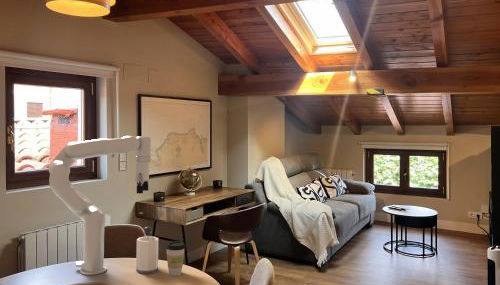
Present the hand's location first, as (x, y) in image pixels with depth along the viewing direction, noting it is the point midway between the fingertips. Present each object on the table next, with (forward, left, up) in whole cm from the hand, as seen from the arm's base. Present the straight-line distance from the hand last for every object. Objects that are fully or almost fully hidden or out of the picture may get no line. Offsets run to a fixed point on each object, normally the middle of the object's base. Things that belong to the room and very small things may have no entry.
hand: (142, 191), depth 221 cm
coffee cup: (+21, -13, -38) cm, 46 cm away
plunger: (+6, -10, -35) cm, 37 cm away
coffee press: (+6, -10, -38) cm, 40 cm away
